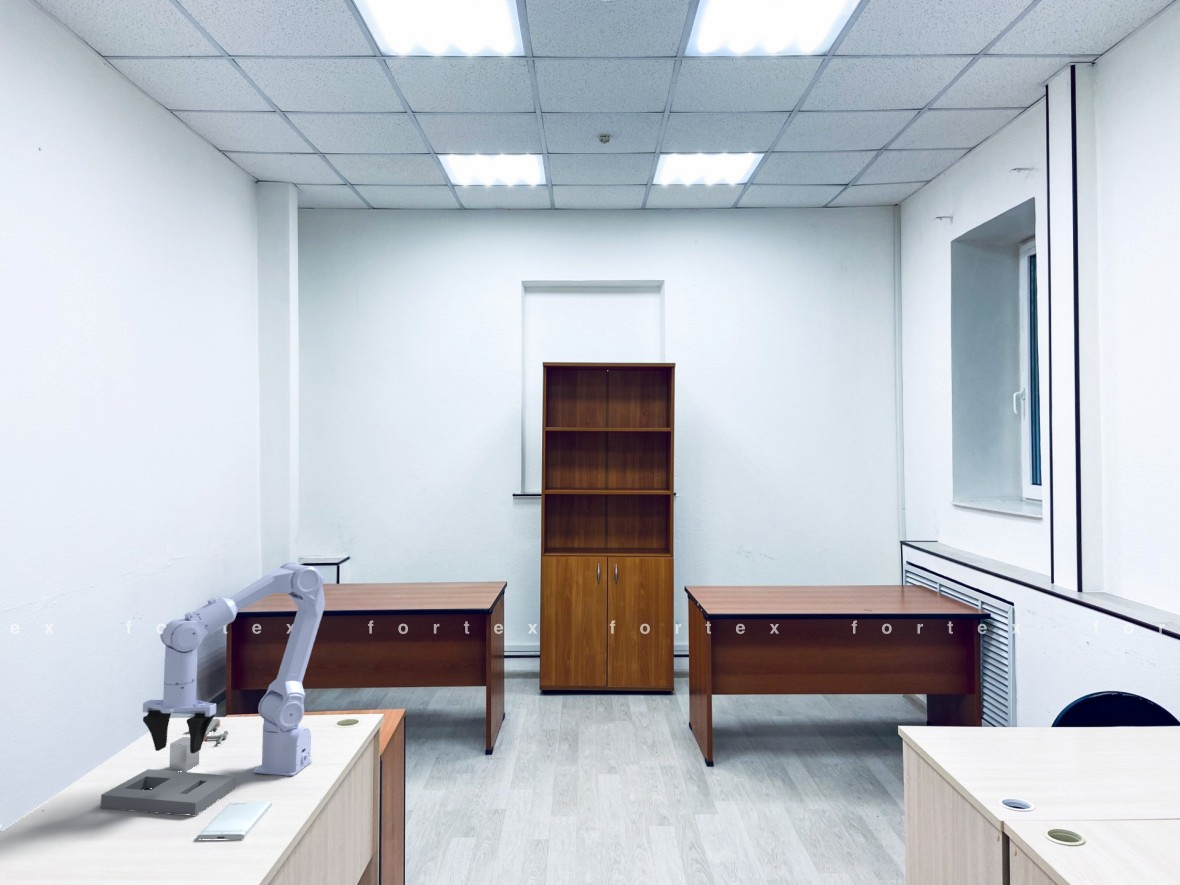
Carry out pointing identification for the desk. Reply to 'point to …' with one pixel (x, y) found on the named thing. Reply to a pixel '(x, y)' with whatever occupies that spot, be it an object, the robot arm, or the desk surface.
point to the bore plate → (169, 792)
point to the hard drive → (235, 820)
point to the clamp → (213, 727)
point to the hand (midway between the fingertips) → (178, 750)
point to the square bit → (182, 755)
